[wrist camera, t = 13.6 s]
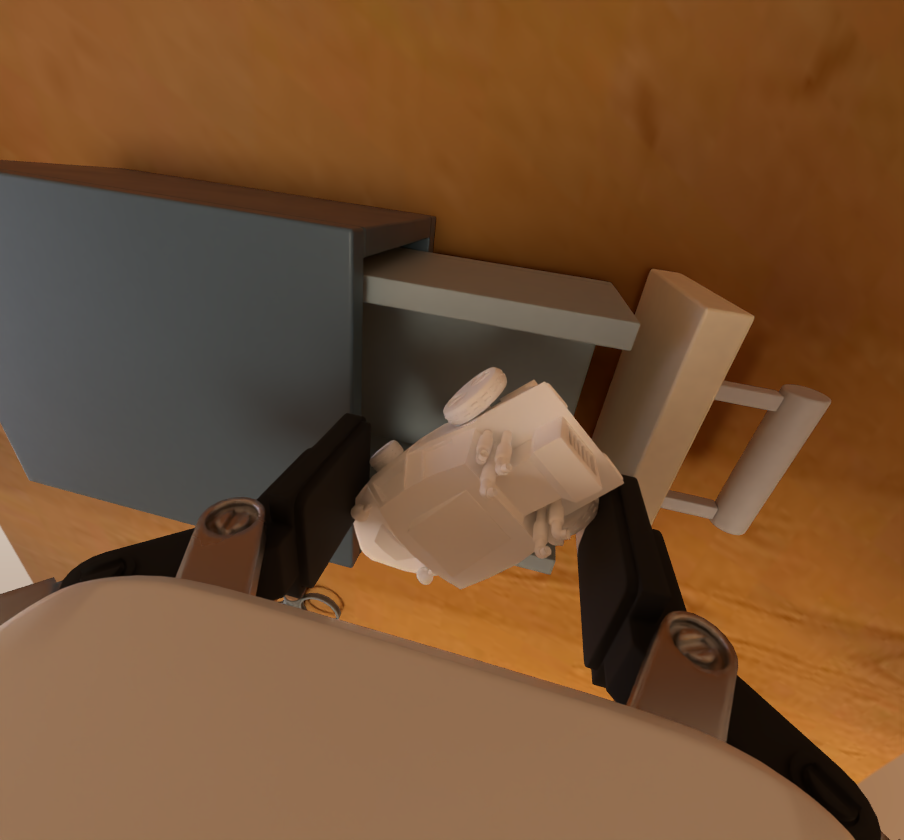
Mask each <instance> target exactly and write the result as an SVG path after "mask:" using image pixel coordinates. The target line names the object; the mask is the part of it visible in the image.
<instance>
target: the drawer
mask: <svg viewBox="0 0 904 840" xmlns="http://www.w3.org/2000/svg"><path fill="white" fill-rule="evenodd" d="M753 320H754V316H753V315H752V314H750V313H748V312H746V311H745V310H743V309H741V308H740V307H738V306H736V305H734V304H733V303H731V302H729V301H727V300H726V299H724V298H722V297H721V296H719V295H717V294H715V293H714V292H712V291H710V290H709V289H707V288H705V287H703V286H702V285H700V284H698V283H696V282H695V281H693V280H691V279H690V278H688V277H686V276H684V275H683V274H681V273H677V272H670V271H664V270H658V269H651V270H650V272H649V275H648V278H647V281H646V284H645V287H644V289H643V292H642V295H641V298H640V301H639V304H638V307H637V310H636V312H635V315H634V314H633V312H632V311H631V310H630V308H629V307H628V305H627V304H626V302H625V301H624V300H623V298H622V297H621V295H620V294H619V292H618V291H617V290H616V288H615V287H614V286H613V284H612V283H611V282H606V281H600V280H594V279H588V278H582V277H576V276H570V275H564V274H558V273H552V272H546V271H540V270H534V269H528V268H521V267H515V266H509V265H503V264H497V263H491V262H485V261H479V260H473V259H467V258H461V257H455V256H449V255H443V254H436V253H430V252H424V251H418V250H412V249H406V248H400V247H397V248H394V249H390V250H387V251H384V252H381V253H378V254H374V255H371V256H368V257H365V258H363V323H362V396H361V416H363V417H365V418H366V422H369V423H370V424H371V446H370V458H371V457H372V456H373V455H374V454H375V453H376V452H377V451H378V450H379V449H381V448H382V447H383V446H384V445H386V444H387V443H388V442H390V441H392V440H395V441H397V442H399V444H400V445H401V447H402V448H403V450H404V451H405V450H407V449H408V448H409V447H411V446H412V445H413V444H414V443H416V442H417V441H418V440H419V439H421V438H422V437H424V436H425V435H427V434H429V433H430V432H432V431H434V430H435V429H437V428H439V427H440V426H442V425H444V424H446V423H448V420H447V419H445V416H444V413H443V410H444V407H445V405H446V404H447V403H448V401H449V400H450V399H451V398H452V397H453V396H454V395H455V394H456V393H457V392H458V391H459V390H460V389H461V388H462V387H463V386H464V385H465V384H466V383H468V382H469V381H470V380H471V379H473V378H474V377H475V376H477V375H478V374H480V373H481V372H483V371H485V370H487V369H488V368H491V367H495V368H498V369H501V370H502V372H503V373H505V375H506V379H507V384H506V387H505V388H504V390H503V392H502V393H501V394H500V395H499V396H498V397H497V399H496V400H495V401H494V402H493V403H492V404H491V405H490V407H493V406H494V405H496V404H498V403H499V402H501V401H500V398H502V397H504V396H506V395H507V394H509V393H511V392H513V391H514V390H516V389H518V388H520V387H522V386H523V385H525V384H527V383H529V382H530V381H532V380H535V381H536V382H537V384H538V385H539V384H541V383H543V382H544V381H545V382H546V383H549V384H550V385H551V386H552V387H553V388H554V390H555V391H556V392H557V393H558V394H559V396H560V397H561V398H562V399H563V400H564V402H565V403H566V404H567V406H568V407H567V409H568V410H569V412H570V413H571V414H572V415H573V416H574V413H575V410H576V407H577V403H578V400H579V397H580V394H581V391H582V387H583V384H584V381H585V378H586V375H587V371H588V368H589V365H590V362H591V359H592V355H593V352H594V349H595V346H596V345H599V346H605V347H610V348H616V349H621V350H622V353H621V355H620V358H619V361H618V364H617V367H616V370H615V373H614V375H613V378H612V381H611V384H610V387H609V390H608V393H607V396H606V398H605V401H604V404H603V407H602V410H601V413H600V416H599V419H598V421H597V424H596V427H595V430H594V433H593V436H592V441H593V442H594V443H595V444H596V446H597V447H598V448H599V449H600V451H601V452H602V453H605V454H606V455H607V456H608V457H609V459H610V460H611V461H612V463H613V464H614V465H615V467H616V468H617V470H618V471H619V472H620V474H623V475H627V476H632V477H635V478H637V480H638V483H639V487H640V490H641V493H642V497H643V500H644V504H645V507H646V510H647V514H648V517H649V521H650V524H651V525H652V523H653V521H654V519H655V517H656V515H657V513H658V511H659V509H660V508H665V509H669V510H673V511H678V512H682V513H686V514H691V515H695V516H700V517H704V518H708V519H709V520H710V521H711V522H712V523H713V524H714V525H715V526H716V527H718V528H719V529H721V530H723V531H725V532H727V533H730V534H734V535H741V534H744V533H745V532H746V531H747V529H748V528H749V526H750V525H751V523H752V521H753V520H754V518H755V517H756V515H757V514H758V512H759V511H760V509H761V508H762V506H763V505H764V503H765V502H766V500H767V499H768V497H769V496H770V494H771V493H772V491H773V490H774V488H775V487H776V485H777V484H778V482H779V481H780V479H781V478H782V476H783V475H784V473H785V472H786V470H787V469H788V467H789V466H790V464H791V463H792V461H793V460H794V458H795V457H796V455H797V454H798V452H799V451H800V449H801V448H802V446H803V444H804V443H805V441H806V440H807V438H808V437H809V435H810V434H811V432H812V431H813V429H814V428H815V426H816V425H817V423H818V422H819V420H820V419H821V417H822V416H823V414H824V413H825V411H826V410H827V408H828V407H829V405H830V404H831V399H830V398H829V397H827V396H826V395H824V394H822V393H820V392H818V391H816V390H813V389H810V388H807V387H803V386H799V385H793V384H785V385H783V386H782V387H781V388H780V390H779V392H778V391H776V390H771V389H766V388H761V387H755V386H750V385H745V384H739V383H734V382H729V381H724V379H725V377H726V375H727V373H728V371H729V369H730V367H731V365H732V363H733V361H734V359H735V357H736V355H737V353H738V351H739V349H740V347H741V345H742V343H743V341H744V339H745V337H746V335H747V333H748V331H749V329H750V326H751V324H752V322H753ZM714 400H718V401H723V402H728V403H733V404H738V405H744V406H749V407H754V408H759V409H764V410H768V411H767V413H766V414H765V416H764V418H763V419H762V421H761V423H760V425H759V426H758V428H757V430H756V431H755V433H754V435H753V437H752V438H751V440H750V442H749V444H748V445H747V447H746V449H745V450H744V452H743V454H742V456H741V457H740V459H739V461H738V462H737V464H736V466H735V468H734V469H733V471H732V473H731V475H730V476H729V478H728V480H727V481H726V483H725V485H724V487H723V488H722V490H721V492H720V493H719V495H718V497H717V499H716V500H715V502H714V500H711V499H707V498H702V497H698V496H693V495H689V494H684V493H680V492H675V491H671V490H669V489H670V487H671V485H672V483H673V481H674V479H675V477H676V475H677V473H678V471H679V469H680V467H681V465H682V463H683V461H684V459H685V457H686V455H687V453H688V451H689V449H690V447H691V445H692V443H693V441H694V439H695V437H696V435H697V433H698V431H699V429H700V427H701V425H702V423H703V421H704V419H705V417H706V415H707V413H708V411H709V409H710V407H711V405H712V403H713V401H714ZM481 413H482V412H481ZM404 451H403V452H404ZM376 473H377V471H376V470H374V469H373V467H371V464H370V479H371V477H372V476H373V475H374V474H376ZM585 528H586V527H585ZM585 528H584V529H582V530H581V531H579V532H578V533H576V543H577V554H578V547H579V543H580V540H581V538H582V535H583V533H584V530H585ZM546 546H548V547H550V549H551V555H549V556H548V557H547V558H544V559H541V558H538V557H537V556H536V555H535V552H533V553H532V554H531V555H529V556H528V557H527V558H525V559H524V560H522V561H521V562H520V563H518V564H516V565H515V566H518V567H522V568H526V569H530V570H534V571H538V572H542V573H546V574H551V572H552V569H553V566H554V563H555V545H552V544H550V543H549V542H548V543H547V544H546Z"/></svg>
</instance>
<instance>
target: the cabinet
mask: <svg viewBox="0 0 904 840" xmlns="http://www.w3.org/2000/svg"><path fill="white" fill-rule="evenodd" d="M435 223H436V217H435V216H429V215H423V214H416V213H410V212H403V211H397V210H390V209H384V208H377V207H371V206H364V205H358V204H351V203H344V202H338V201H331V200H325V199H318V198H312V197H305V196H299V195H292V194H286V193H279V192H273V191H266V190H259V189H253V188H246V187H240V186H233V185H227V184H220V183H214V182H207V181H201V180H194V179H188V178H181V177H175V176H168V175H161V174H155V173H148V172H142V171H135V170H129V169H121V168H107V167H93V166H78V165H64V164H50V163H36V162H22V161H8V160H0V423H1V425H2V427H3V429H4V431H5V433H6V435H7V437H8V439H9V441H10V443H11V445H12V447H13V449H14V451H15V453H16V455H17V457H18V459H19V461H20V463H21V465H22V467H23V469H24V471H25V473H26V475H27V477H28V479H29V480H30V481H33V482H37V483H41V484H44V485H48V486H52V487H55V488H59V489H63V490H66V491H70V492H74V493H77V494H81V495H85V496H88V497H92V498H96V499H99V500H103V501H107V502H110V503H114V504H118V505H121V506H125V507H129V508H133V509H136V510H140V511H144V512H147V513H151V514H155V515H158V516H162V517H166V518H169V519H173V520H177V521H180V522H184V523H188V524H191V525H195V526H196V524H197V521H198V519H199V517H200V516H201V514H202V513H203V512H204V511H205V510H206V509H207V508H208V507H210V506H211V505H213V504H215V503H217V502H219V501H222V500H225V499H228V498H234V497H249V498H252V499H257V498H258V497H259V496H260V495H261V494H262V493H263V492H264V491H265V490H266V489H267V488H268V487H269V486H270V485H271V484H272V483H273V482H274V481H275V480H276V479H277V478H278V477H279V476H280V475H281V474H282V473H283V472H284V471H285V470H286V469H287V468H288V467H289V466H290V465H291V464H292V463H293V462H294V461H295V460H296V459H297V458H298V457H299V456H300V455H301V454H302V453H303V452H304V451H305V450H306V449H308V448H312V447H313V446H314V445H315V444H316V443H317V442H318V441H319V440H320V439H321V438H322V437H323V436H324V435H325V434H326V433H327V432H328V431H329V430H330V429H331V428H332V427H333V426H334V424H335V423H336V422H337V421H338V420H339V419H340V418H341V417H342V416H343V415H344V414H346V413H350V414H354V415H359V416H361V396H362V323H363V258H365V257H368V256H371V255H374V254H378V253H381V252H384V251H387V250H390V249H394V248H397V247H400V248H406V249H412V250H418V251H424V252H430V253H433V245H434V234H435ZM361 551H362V550H361V549H360V546H359V542H358V539H357V535H356V532H355V528H354V525H353V524H352V526H351V527H350V529H349V531H348V532H347V534H346V535H345V537H344V539H343V540H342V542H341V544H340V545H339V547H338V548H337V550H336V552H335V553H334V555H333V556H332V558H331V560H330V561H329V562H331V563H335V564H338V565H342V566H346V567H349V568H352V567H353V565H354V564H355V562H356V560H357V558H358V556H359V554H360V553H361Z"/></svg>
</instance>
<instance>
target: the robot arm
mask: <svg viewBox="0 0 904 840" xmlns="http://www.w3.org/2000/svg"><path fill="white" fill-rule="evenodd" d="M370 446H371V424H370V423H369V422H366V418H365V417H363V416H359V415H354V414H350V413H346V414H344V415H343V416H342V417H341V418H340V419H339V420H338V421H337V422H336V423H335V424H334V426H333V427H332V428H331V429H330V430H329V431H328V432H327V433H326V434H325V435H324V436H323V437H322V438H321V439H320V440H319V441H318V442H317V443H316V444H315V445H314V446H313V447H312V448H308V449H306V450H305V451H304V452H303V453H302V454H301V455H300V456H299V457H298V458H297V459H296V460H295V461H294V462H293V463H292V464H291V465H290V466H289V467H288V468H287V469H286V470H285V471H284V472H283V473H282V474H281V475H280V476H279V477H278V478H277V479H276V480H275V481H274V482H273V483H272V484H271V485H270V486H269V487H268V488H267V489H266V490H265V491H264V492H263V493H262V494H261V495H260V496H259V497H258V498H257V499H252V498H249V497H234V498H228V499H225V500H222V501H219V502H217V503H215V504H213V505H211V506H210V507H208V508H207V509H206V510H205V511H204V512H203V513H202V514H201V516H200V517H199V519H198V521H197V524H196V526H195V528H193V529H189V530H186V531H182V532H178V533H175V534H171V535H167V536H164V537H160V538H156V539H153V540H149V541H145V542H142V543H138V544H134V545H131V546H127V547H123V548H120V549H116V550H112V551H108V552H105V553H102V554H100V555H97V556H94V557H92V558H90V559H88V560H86V561H84V562H83V563H81V564H79V565H78V566H77V567H76V568H74V569H73V570H72V571H70V573H69V574H68V575H67V576H66V577H65V578H64V580H63V581H60V582H56V580H55V579H54V577H53V578H50V579H47V580H44V581H41V582H37V583H34V584H31V585H28V586H25V587H22V588H18V589H15V590H12V591H9V592H6V593H3V594H0V840H889V838H887V836H886V835H884V834H883V833H882V832H881V830H880V826H879V822H878V819H877V816H876V814H875V812H874V811H873V809H872V807H871V805H870V803H869V801H868V800H867V798H866V797H865V796H864V794H863V793H862V792H861V790H860V789H859V787H858V786H857V785H856V783H855V782H854V781H853V780H852V779H851V778H850V777H849V776H848V775H847V774H846V773H845V772H844V771H843V770H842V769H841V768H840V767H839V766H838V765H837V764H836V763H834V762H833V761H832V760H831V759H830V758H829V757H828V756H827V755H826V754H824V753H823V752H822V751H821V750H820V749H819V748H818V747H817V746H815V745H814V744H813V743H812V742H811V741H810V740H809V739H808V738H807V737H805V736H804V735H803V734H802V733H801V732H800V731H799V730H798V729H797V728H795V727H794V726H793V725H792V724H791V723H790V722H789V721H788V720H787V719H785V718H784V717H783V716H782V715H781V714H780V713H779V712H778V711H777V710H775V709H774V708H773V707H772V706H771V705H770V704H769V703H768V702H766V701H765V700H764V699H763V698H762V697H761V696H760V695H759V694H758V693H756V692H755V691H754V690H753V689H752V688H751V687H750V686H749V685H748V684H746V683H745V682H744V681H743V680H742V679H741V678H740V677H739V676H738V675H737V671H738V658H737V655H736V652H735V650H734V648H733V646H732V644H731V643H730V642H729V640H728V639H727V637H726V636H725V635H724V634H723V633H722V632H721V631H720V630H719V629H718V628H717V627H716V626H714V625H713V624H712V623H710V622H709V621H707V620H706V619H704V618H702V617H700V616H698V615H696V614H694V613H690V612H687V611H686V608H685V605H684V602H683V599H682V595H681V592H680V589H679V586H678V583H677V580H676V577H675V573H674V570H673V567H672V564H671V561H670V558H669V555H668V552H667V548H666V545H665V542H664V539H663V536H662V534H661V532H659V531H658V530H655V529H652V527H651V524H650V521H649V517H648V514H647V510H646V507H645V504H644V500H643V497H642V493H641V490H640V487H639V483H638V480H637V478H635V477H632V476H627V475H623V474H621V475H622V477H623V481H624V484H622V485H620V486H618V487H617V488H615V489H613V490H611V491H609V492H608V493H606V494H604V495H602V496H600V497H599V504H598V511H597V514H596V516H595V518H594V519H593V520H592V521H591V522H590V523H589V524H588V525H587V526H586V528H585V530H584V533H583V535H582V538H581V540H580V543H579V547H578V554H577V557H578V573H579V589H580V605H581V621H582V637H583V653H584V664H585V666H586V667H587V668H591V670H592V683H593V684H594V685H597V686H601V687H604V688H606V691H607V692H608V693H609V694H610V695H611V697H612V698H613V699H614V701H610V700H607V699H604V698H601V697H598V696H595V695H592V694H588V693H585V692H582V691H578V690H575V689H572V688H568V687H565V686H562V685H558V684H555V683H552V682H548V681H545V680H542V679H538V678H535V677H532V676H528V675H525V674H522V673H518V672H515V671H512V670H508V669H505V668H502V667H498V666H495V665H492V664H488V663H485V662H482V661H478V660H475V659H471V658H468V657H465V656H461V655H458V654H454V653H451V652H448V651H444V650H441V649H437V648H434V647H431V646H427V645H424V644H420V643H417V642H414V641H410V640H407V639H403V638H400V637H397V636H393V635H390V634H386V633H383V632H379V631H376V630H373V629H369V628H366V627H362V626H359V625H355V624H352V623H348V622H345V621H342V620H338V619H335V618H331V617H328V616H324V615H321V614H317V613H314V612H310V611H307V610H303V609H300V608H296V607H293V606H289V605H286V604H282V603H279V602H277V599H279V598H282V597H284V596H285V595H288V596H291V597H294V598H298V599H300V598H301V596H302V594H303V593H304V591H305V590H306V588H312V587H314V585H315V584H316V582H317V581H318V579H319V577H320V576H321V574H322V573H323V571H324V569H325V568H326V566H327V565H328V563H329V561H330V560H331V558H332V556H333V555H334V553H335V552H336V550H337V548H338V547H339V545H340V544H341V542H342V540H343V539H344V537H345V535H346V534H347V532H348V531H349V529H350V527H351V526H352V524H353V523H354V521H355V519H354V518H353V517H352V516H351V509H352V508H353V507H354V506H355V498H356V497H357V496H358V494H359V493H360V492H361V490H362V489H363V488H364V486H365V485H366V484H367V483H368V482H369V480H370V463H369V461H370ZM899 840H900V839H899Z"/></svg>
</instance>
